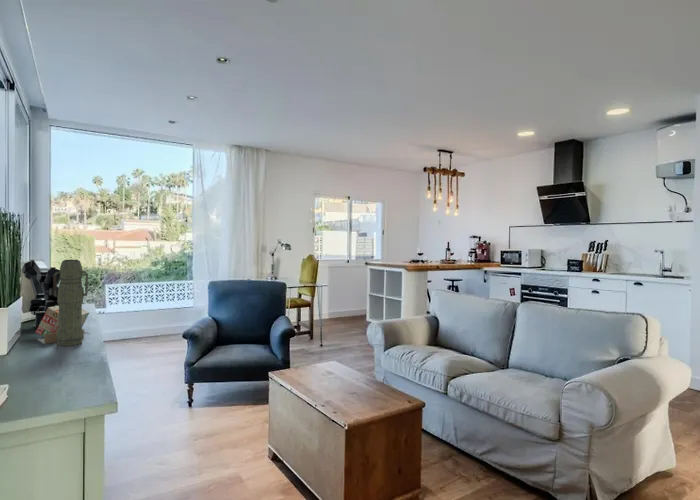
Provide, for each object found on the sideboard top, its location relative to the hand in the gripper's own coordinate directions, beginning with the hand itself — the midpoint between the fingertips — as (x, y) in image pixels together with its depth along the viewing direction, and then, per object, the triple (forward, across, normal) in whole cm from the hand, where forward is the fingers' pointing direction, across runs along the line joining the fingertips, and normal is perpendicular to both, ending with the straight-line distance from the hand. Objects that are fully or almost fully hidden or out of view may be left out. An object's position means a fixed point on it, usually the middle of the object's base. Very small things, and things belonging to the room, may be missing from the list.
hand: (58, 318), depth 187 cm
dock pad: (+13, -2, -3) cm, 14 cm away
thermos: (+23, -2, -12) cm, 25 cm away
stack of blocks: (+5, 0, +4) cm, 6 cm away
